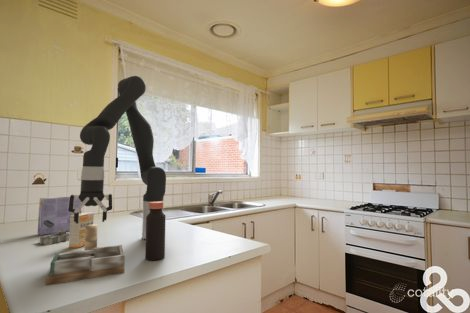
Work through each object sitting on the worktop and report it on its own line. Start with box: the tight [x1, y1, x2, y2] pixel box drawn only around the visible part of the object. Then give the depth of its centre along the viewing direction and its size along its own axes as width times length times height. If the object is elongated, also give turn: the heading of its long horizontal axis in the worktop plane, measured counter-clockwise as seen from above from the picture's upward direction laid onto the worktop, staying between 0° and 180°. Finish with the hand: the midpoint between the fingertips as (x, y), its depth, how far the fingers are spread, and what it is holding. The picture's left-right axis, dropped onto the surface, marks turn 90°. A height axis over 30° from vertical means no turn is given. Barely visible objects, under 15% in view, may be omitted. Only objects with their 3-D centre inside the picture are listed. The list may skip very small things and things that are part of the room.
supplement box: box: [68, 212, 95, 249], centre depth 111 cm, size 8×5×13 cm, turn 168°
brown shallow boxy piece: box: [45, 244, 125, 286], centre depth 84 cm, size 20×16×5 cm
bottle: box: [144, 201, 167, 262], centre depth 95 cm, size 7×7×20 cm
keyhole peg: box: [83, 223, 99, 251], centre depth 97 cm, size 6×6×11 cm
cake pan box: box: [37, 196, 82, 236], centre depth 134 cm, size 19×5×18 cm, turn 144°
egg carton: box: [38, 230, 70, 246], centre depth 116 cm, size 11×8×4 cm
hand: (90, 222), depth 98 cm, fingers open, 8 cm apart
